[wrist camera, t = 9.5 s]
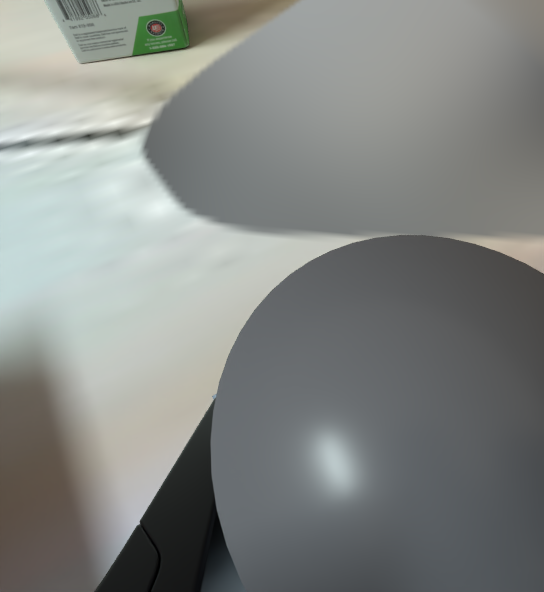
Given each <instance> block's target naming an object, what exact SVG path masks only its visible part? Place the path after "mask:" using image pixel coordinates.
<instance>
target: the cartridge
mask: <svg viewBox="0 0 544 592" xmlns="http://www.w3.org/2000/svg"><path fill="white" fill-rule="evenodd" d="M211 473H212V481H213V488H214V494H215V501H216V507H217V512H218V516H219V520H220V523H221V527H222V530H223V534H224V538H225V541H226V545H227V548H228V550H229V553H230V555H231V558H232V560H233V563H234V565H235V567H236V570H237V572H238V575H239V577H240V580H241V582H242V584H243V586H244V588H245V589H246V591H247V592H544V274H543V273H541V272H539V271H537V270H536V269H534V268H532V267H530V266H529V265H527V264H525V263H523V262H521V261H518V260H516V259H514V258H512V257H509V256H507V255H505V254H502V253H500V252H497V251H494V250H491V249H488V248H485V247H482V246H479V245H476V244H472V243H468V242H463V241H459V240H454V239H450V238H442V237H433V236H424V235H398V236H389V237H379V238H373V239H369V240H364V241H360V242H355V243H351V244H349V245H346V246H343V247H340V248H337V249H335V250H332V251H329V252H327V253H325V254H323V255H321V256H319V257H317V258H315V259H313V260H312V261H310V262H308V263H307V264H305V265H304V266H302V267H301V268H299V269H298V270H296V271H295V272H293V273H292V274H290V275H289V276H288V277H287V278H285V279H284V280H283V281H282V282H281V283H280V284H279V285H278V286H276V287H275V288H274V289H273V290H272V291H271V292H270V293H269V294H268V295H267V296H266V298H265V299H264V300H263V301H262V302H261V303H260V304H259V306H258V307H257V308H256V309H255V310H254V312H253V313H252V315H251V316H250V318H249V319H248V321H247V322H246V324H245V325H244V327H243V328H242V330H241V331H240V333H239V335H238V337H237V339H236V341H235V343H234V345H233V347H232V349H231V351H230V353H229V356H228V359H227V361H226V364H225V367H224V370H223V373H222V376H221V379H220V381H219V386H218V391H217V395H216V400H215V405H214V409H213V419H212V431H211Z"/></svg>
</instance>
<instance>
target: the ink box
mask: <svg viewBox="0 0 544 592" xmlns="http://www.w3.org/2000/svg"><path fill="white" fill-rule="evenodd" d="M44 2H45V3H46V5H47V7H48V9H49V11H50V12H51V14H52V16H53V18H54V20H55V22H56V23H57V25H58V27H59V29H60V31H61V32H62V34H63V36H64V38H65V40H66V42H67V43H68V45H69V47H70V49H71V51H72V53H73V54H74V56H75V58H76V60H77V61H78V62H79V63H88V62H95V61H101V60H108V59H114V58H121V57H127V56H133V55H140V54H146V53H153V52H160V51H166V50H173V49H180V48H185V47H187V46H189V35H188V26H187V20H186V15H185V11H184V7H183V3H182V0H44Z"/></svg>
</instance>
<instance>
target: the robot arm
mask: <svg viewBox="0 0 544 592" xmlns="http://www.w3.org/2000/svg"><path fill="white" fill-rule="evenodd" d="M215 400H216V398H215V399H214V400H213V402H212V404H211V405H210V407H209V409H208V410H207V412H206V414H205V415H204V417H203V419H202V420H201V422H200V423H199V425H198V427H197V428H196V430H195V432H194V433H193V435H192V437H191V438H190V440H189V441H188V443H187V445H186V446H185V448H184V450H183V451H182V453H181V455H180V456H179V458H178V459H177V461H176V463H175V464H174V466H173V468H172V469H171V471H170V473H169V474H168V476H167V477H166V479H165V481H164V482H163V484H162V486H161V487H160V489H159V491H158V492H157V494H156V496H155V497H154V499H153V500H152V502H151V504H150V505H149V507H148V509H147V510H146V512H145V514H144V515H143V517H142V518H141V520H140V525H137V526H136V528H135V530H134V531H133V533H132V535H131V536H130V538H129V539H128V541H127V543H126V544H125V546H124V548H123V549H122V551H121V552H120V554H119V555H118V557H117V558H116V560H115V562H114V563H113V565H112V566H111V568H110V569H109V571H108V572H107V574H106V576H105V577H104V579H103V580H102V581H101V583H100V584H99V586H98V587H97V589H96V590H95V591H94V592H247V591H246V589H245V588H244V586H243V584H242V582H241V580H240V577H239V575H238V572H237V570H236V567H235V565H234V563H233V560H232V558H231V555H230V553H229V550H228V548H227V545H226V541H225V538H224V534H223V530H222V527H221V523H220V520H219V516H218V512H217V507H216V501H215V494H214V488H213V481H212V473H211V431H212V419H213V409H214V405H215Z"/></svg>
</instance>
